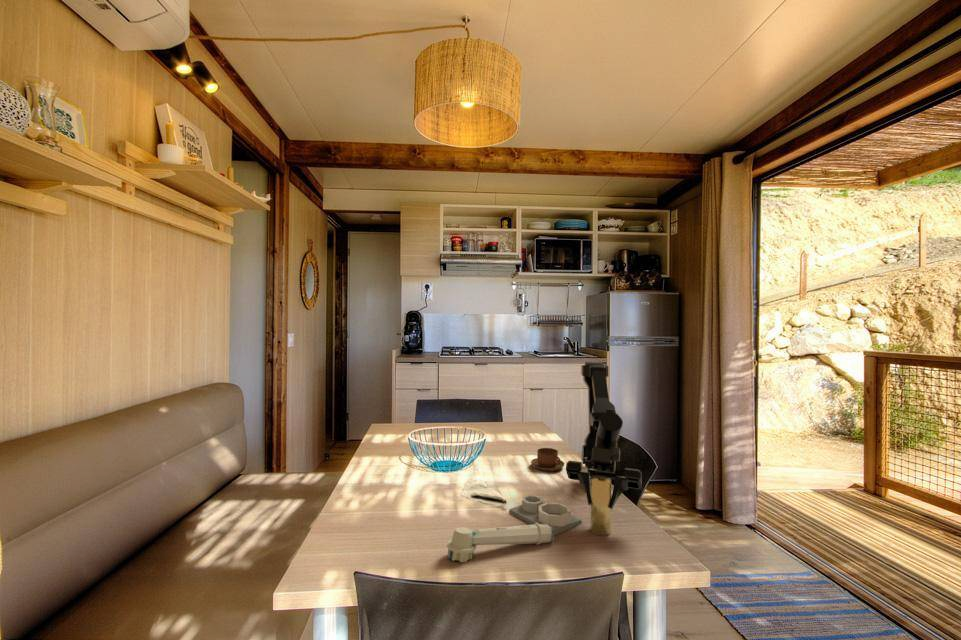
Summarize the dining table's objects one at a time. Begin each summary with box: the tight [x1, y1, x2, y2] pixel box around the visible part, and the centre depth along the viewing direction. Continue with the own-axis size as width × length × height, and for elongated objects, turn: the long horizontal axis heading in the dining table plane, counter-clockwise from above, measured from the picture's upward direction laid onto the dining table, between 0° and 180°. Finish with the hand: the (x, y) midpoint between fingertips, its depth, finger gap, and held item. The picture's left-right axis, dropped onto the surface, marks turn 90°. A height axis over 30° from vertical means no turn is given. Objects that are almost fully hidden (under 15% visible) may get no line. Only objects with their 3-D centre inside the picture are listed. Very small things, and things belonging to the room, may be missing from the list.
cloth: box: [460, 478, 508, 510], centre depth 131 cm, size 26×14×2 cm, turn 13°
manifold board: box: [508, 494, 583, 536], centre depth 114 cm, size 11×16×4 cm
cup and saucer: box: [530, 447, 565, 472], centre depth 155 cm, size 12×12×6 cm
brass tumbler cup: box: [589, 475, 612, 537], centre depth 108 cm, size 5×5×13 cm
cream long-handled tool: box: [446, 523, 555, 563], centre depth 98 cm, size 5×7×25 cm
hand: (600, 506), depth 106 cm, fingers closed on brass tumbler cup, 5 cm apart
